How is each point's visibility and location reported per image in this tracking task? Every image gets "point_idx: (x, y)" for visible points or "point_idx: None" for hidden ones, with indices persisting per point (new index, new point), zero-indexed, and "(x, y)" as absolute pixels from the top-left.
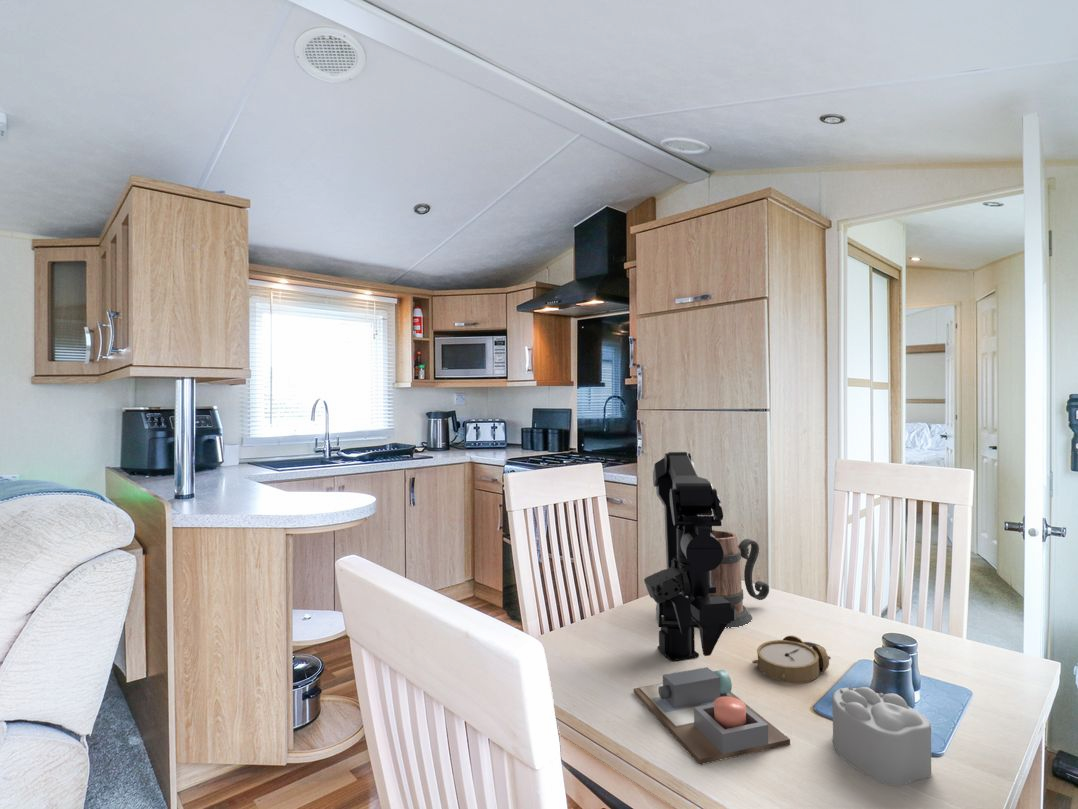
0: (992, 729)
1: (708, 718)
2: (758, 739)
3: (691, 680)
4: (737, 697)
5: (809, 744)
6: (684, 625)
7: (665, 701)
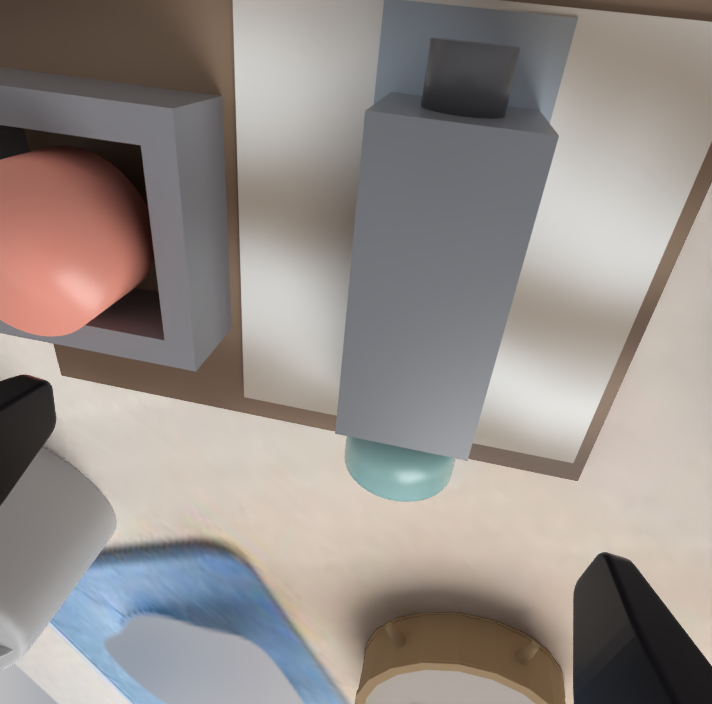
0: (78, 690)
1: (43, 106)
2: None
3: (372, 275)
4: None
5: (68, 410)
6: (608, 668)
7: None
